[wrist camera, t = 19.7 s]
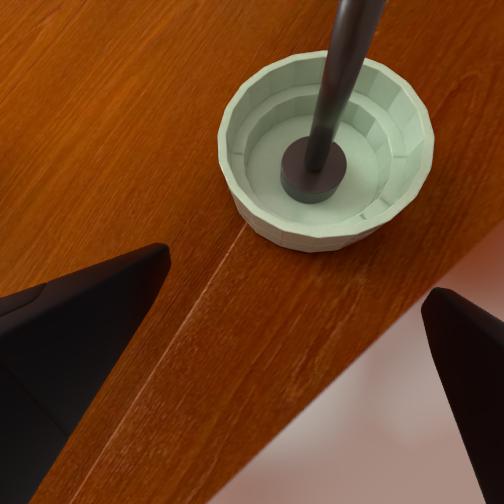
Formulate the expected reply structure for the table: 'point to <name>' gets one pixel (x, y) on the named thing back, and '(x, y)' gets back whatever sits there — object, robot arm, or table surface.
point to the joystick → (331, 106)
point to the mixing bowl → (347, 137)
